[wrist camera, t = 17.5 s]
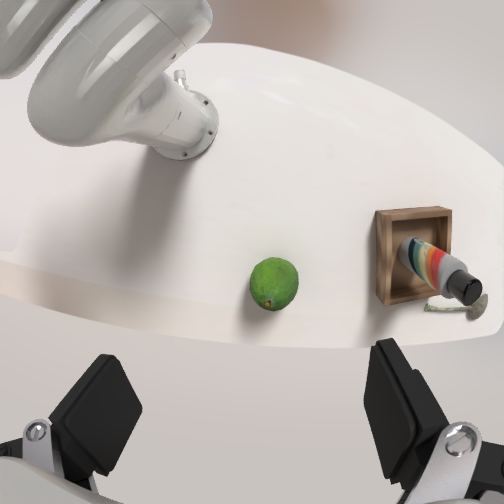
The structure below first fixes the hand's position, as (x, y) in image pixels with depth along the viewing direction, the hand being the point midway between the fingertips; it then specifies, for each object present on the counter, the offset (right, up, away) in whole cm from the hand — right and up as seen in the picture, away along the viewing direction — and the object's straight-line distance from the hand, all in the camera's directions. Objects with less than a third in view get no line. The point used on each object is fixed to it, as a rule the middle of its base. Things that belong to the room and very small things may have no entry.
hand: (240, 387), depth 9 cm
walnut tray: (+30, +5, +36) cm, 47 cm away
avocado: (+4, +1, +40) cm, 40 cm away
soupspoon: (+48, -7, +39) cm, 62 cm away
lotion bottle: (+30, +5, +36) cm, 47 cm away
